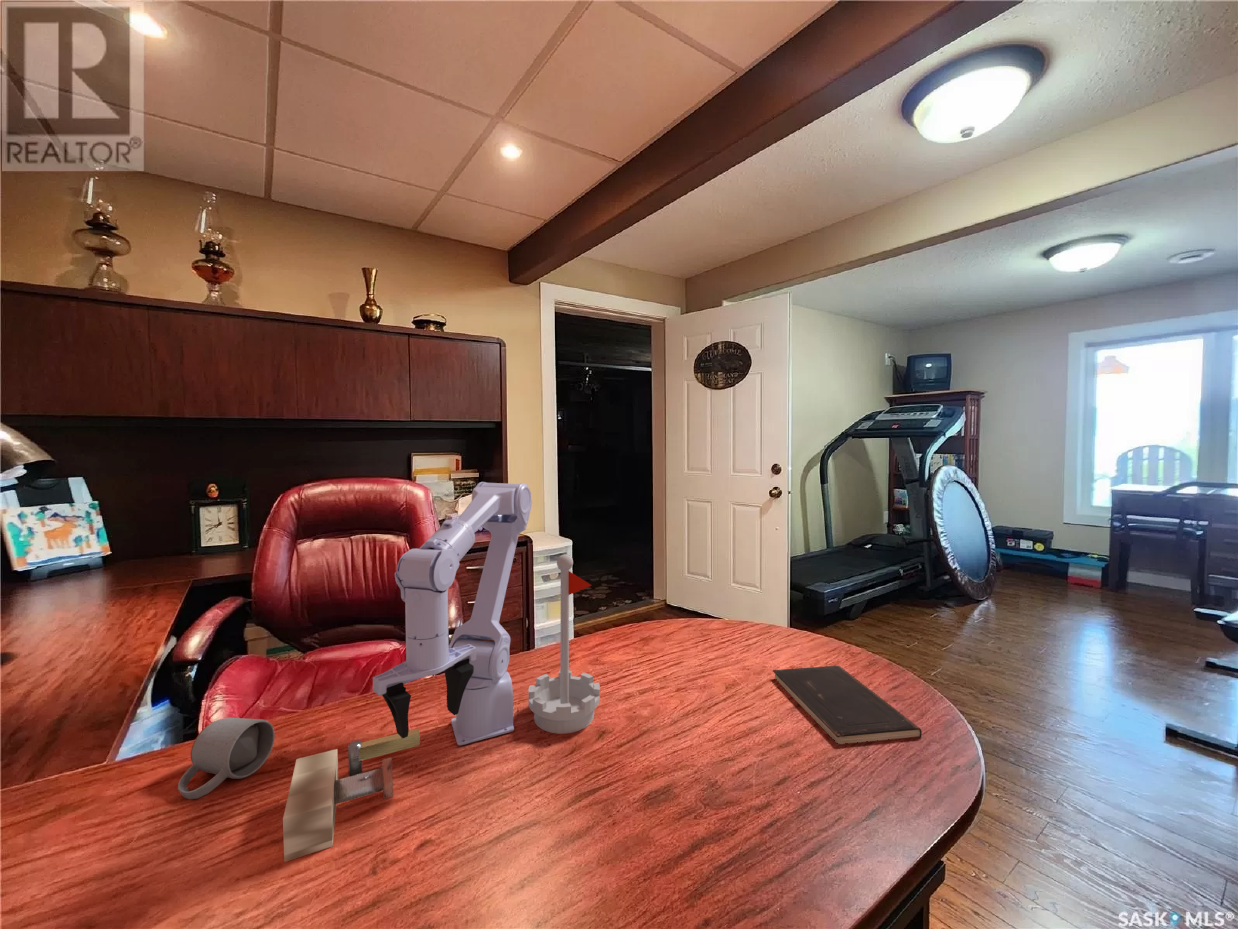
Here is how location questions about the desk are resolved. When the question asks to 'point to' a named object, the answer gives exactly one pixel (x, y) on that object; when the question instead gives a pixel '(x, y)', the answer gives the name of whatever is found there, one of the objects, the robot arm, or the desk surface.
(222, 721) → the ceramic mug
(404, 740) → the bar
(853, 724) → the hardcover book
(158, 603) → the desk surface
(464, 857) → the desk surface
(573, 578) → the flag stand
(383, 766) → the pin
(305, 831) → the hitch block
